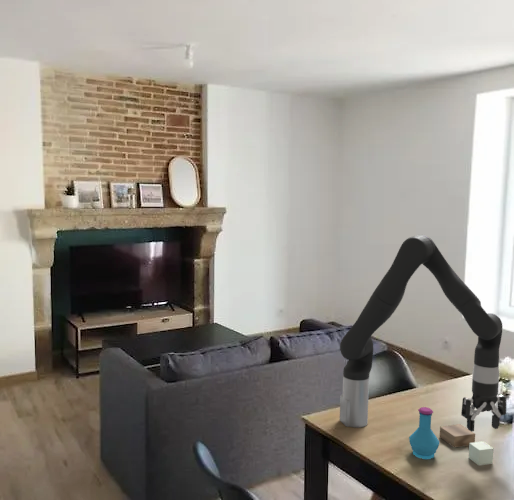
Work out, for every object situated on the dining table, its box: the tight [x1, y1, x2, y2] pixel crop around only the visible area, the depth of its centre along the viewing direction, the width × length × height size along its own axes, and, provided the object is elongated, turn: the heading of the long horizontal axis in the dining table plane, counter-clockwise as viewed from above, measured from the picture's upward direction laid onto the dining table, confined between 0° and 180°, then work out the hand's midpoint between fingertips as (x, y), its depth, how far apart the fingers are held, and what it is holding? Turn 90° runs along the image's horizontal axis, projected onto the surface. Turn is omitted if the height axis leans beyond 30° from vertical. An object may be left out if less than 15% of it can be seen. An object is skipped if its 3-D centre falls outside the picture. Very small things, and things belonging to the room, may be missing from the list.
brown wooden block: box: [439, 423, 476, 448], centre depth 188 cm, size 8×8×4 cm
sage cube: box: [468, 441, 494, 466], centre depth 175 cm, size 5×5×5 cm
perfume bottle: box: [408, 406, 440, 460], centre depth 178 cm, size 9×9×15 cm
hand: (482, 429), depth 174 cm, fingers open, 8 cm apart
